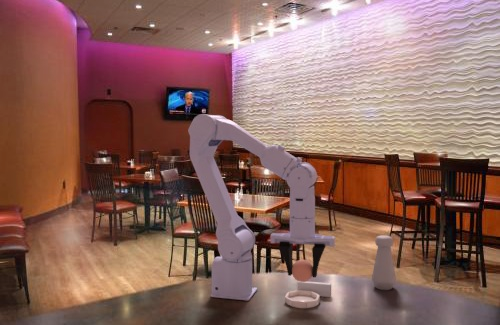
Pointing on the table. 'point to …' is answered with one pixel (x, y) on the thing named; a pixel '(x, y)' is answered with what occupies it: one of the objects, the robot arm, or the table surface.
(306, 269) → the ball
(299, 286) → the wall
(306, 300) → the coaster
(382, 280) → the salt shaker
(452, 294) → the table surface
